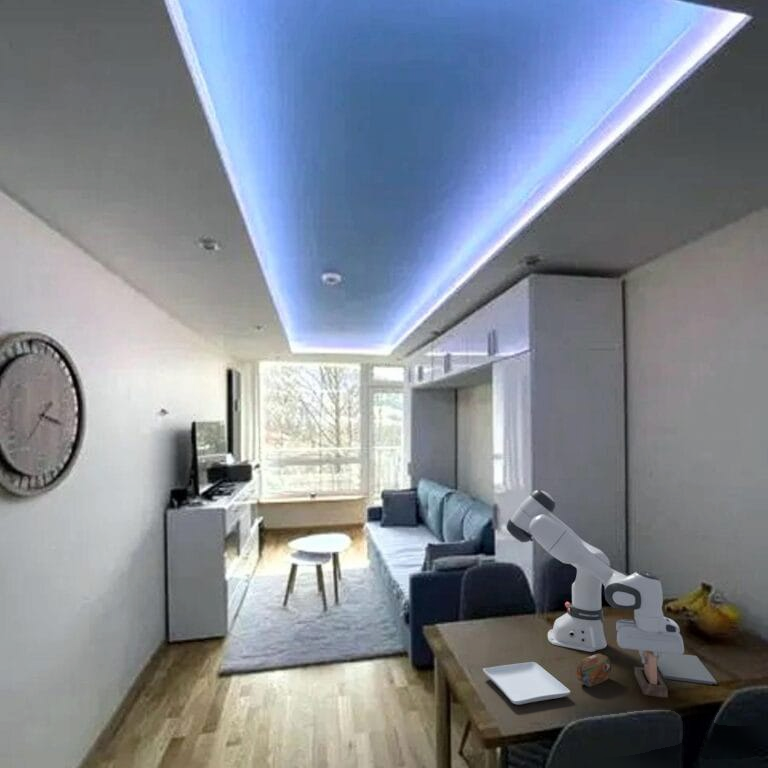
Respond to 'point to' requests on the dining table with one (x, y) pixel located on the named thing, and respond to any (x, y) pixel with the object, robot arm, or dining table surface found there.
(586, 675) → the tin
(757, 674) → the dining table surface
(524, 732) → the dining table surface
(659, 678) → the brown flat hollow block
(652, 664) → the pink flat slab
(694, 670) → the rubber mat
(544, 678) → the salad plate
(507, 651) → the dining table surface
